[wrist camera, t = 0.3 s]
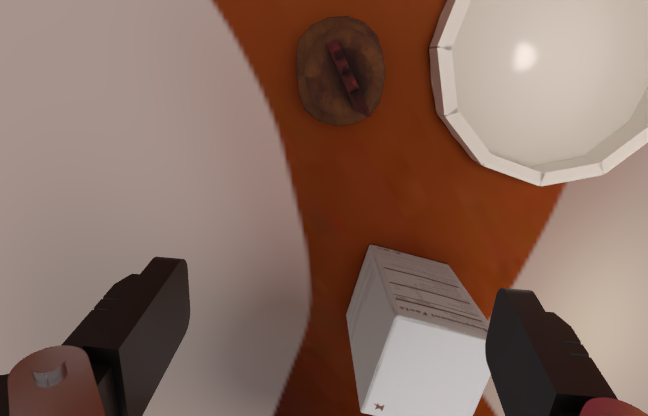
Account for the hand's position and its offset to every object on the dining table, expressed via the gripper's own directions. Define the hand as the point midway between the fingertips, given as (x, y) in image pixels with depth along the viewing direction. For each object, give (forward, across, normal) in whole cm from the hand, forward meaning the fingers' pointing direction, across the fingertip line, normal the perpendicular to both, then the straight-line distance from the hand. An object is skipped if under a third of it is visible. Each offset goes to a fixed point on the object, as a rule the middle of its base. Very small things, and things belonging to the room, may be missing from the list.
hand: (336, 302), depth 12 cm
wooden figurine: (+27, +1, -2) cm, 27 cm away
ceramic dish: (+29, -14, -4) cm, 32 cm away
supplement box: (+26, -5, +16) cm, 31 cm away
